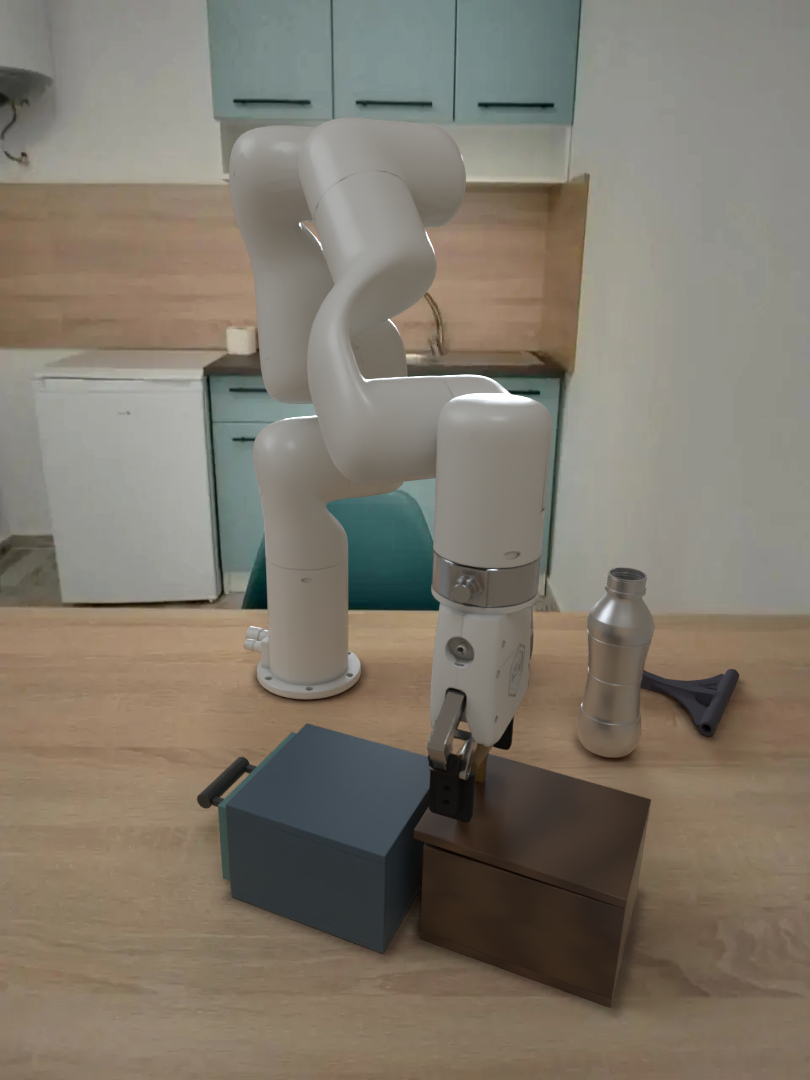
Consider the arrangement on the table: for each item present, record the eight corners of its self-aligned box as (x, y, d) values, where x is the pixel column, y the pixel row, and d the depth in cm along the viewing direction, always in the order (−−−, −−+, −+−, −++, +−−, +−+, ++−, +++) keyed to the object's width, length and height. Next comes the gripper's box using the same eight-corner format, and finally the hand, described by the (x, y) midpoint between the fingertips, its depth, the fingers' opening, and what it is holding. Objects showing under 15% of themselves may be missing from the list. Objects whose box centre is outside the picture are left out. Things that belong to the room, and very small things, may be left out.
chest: (419, 938, 64) (422, 846, 61) (469, 844, 74) (474, 760, 71) (610, 1007, 58) (625, 910, 55) (636, 895, 68) (649, 807, 65)
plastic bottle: (640, 770, 84) (666, 590, 78) (572, 760, 86) (592, 583, 79) (636, 735, 90) (660, 565, 84) (573, 727, 92) (592, 558, 85)
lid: (412, 838, 61) (416, 770, 59) (465, 754, 71) (470, 693, 69) (625, 909, 55) (638, 836, 53) (650, 807, 65) (661, 742, 63)
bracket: (619, 651, 109) (621, 632, 108) (738, 682, 102) (741, 662, 101) (582, 700, 97) (584, 679, 96) (713, 739, 90) (716, 717, 89)
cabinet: (230, 897, 67) (225, 804, 64) (308, 805, 78) (306, 722, 75) (383, 954, 62) (385, 856, 59) (443, 848, 73) (447, 761, 70)
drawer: (180, 863, 69) (173, 790, 67) (255, 786, 79) (252, 720, 77) (359, 929, 63) (359, 852, 61) (416, 836, 73) (419, 767, 71)
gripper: (499, 634, 49) (483, 865, 55) (566, 543, 64) (547, 732, 70) (385, 610, 52) (381, 832, 58) (474, 528, 67) (464, 711, 73)
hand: (472, 777), depth 64 cm, fingers open, 9 cm apart
